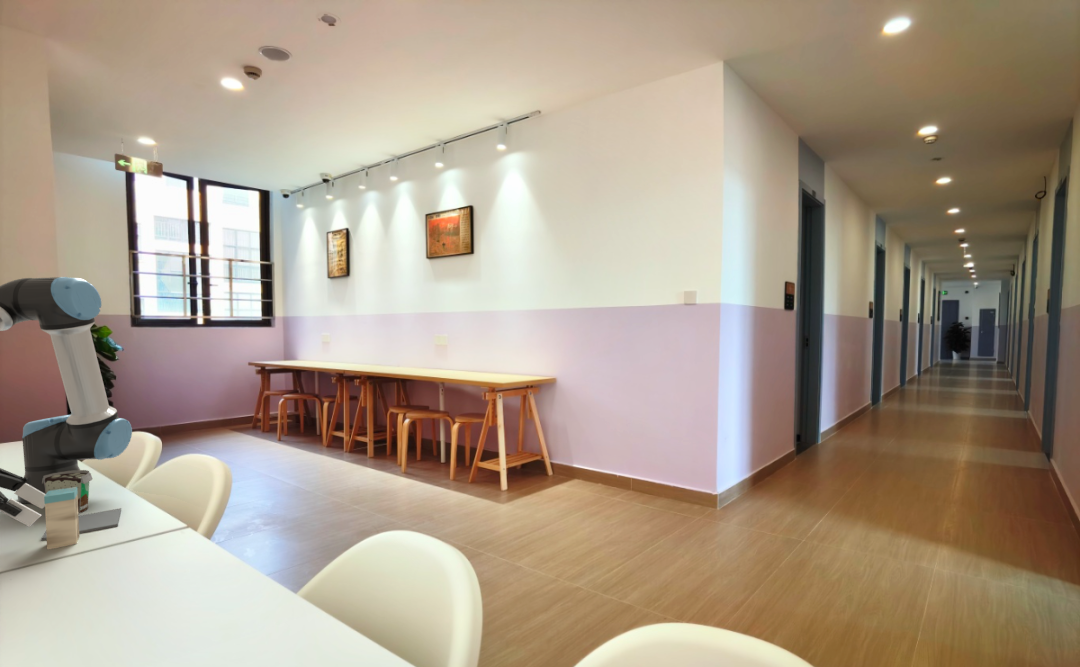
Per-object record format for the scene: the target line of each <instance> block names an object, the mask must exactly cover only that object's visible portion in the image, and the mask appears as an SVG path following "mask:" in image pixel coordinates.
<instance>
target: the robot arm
mask: <svg viewBox="0 0 1080 667" xmlns="http://www.w3.org/2000/svg"><path fill="white" fill-rule="evenodd" d="M101 308H102V298H101V295H100V293H99V291H98V290H97V288H96V287H95V286H94V285H93V284H92V283H90V282H89V281H87V280H85V279H84V278H79V277H68V276H59V277H58V276H57V277H56V276H54V277H25V278H23V277H22V278H18V279H15V280H11V281H8V282H6V283H4V284H1V285H0V332H2V331H3V332H4V331H8V330H9V329H11V328H12V327H13V326H14V325H17V324H20V323H23V322H30V321H38V324H39V327H40V328H39V329H40V330H41V331H43V332H44V333H46V334H48V335H49V336H50V339H51V343H52V348H53V350H54V354H55V358H56V362H57V366H58V369H59V373H60V377H61V380H62V383H63V387H64V388H63V389H64V391H65V395H66V398H67V403H68V407H69V410H70V412H71V413H70V414H64V415H59V416H52V417H49V418H48V417H47V418H42V419H38V420H33V421H29V422H27V423H25V424H24V426H23V428H22V437H21V438H22V448H23V449H22V450H23V463H24V475H23V476H20V475H18V474H16V473H13V472H10V471H8V470H6V469H4V468H1V467H0V488H1V489H4V490H5V489H6V490H8V491H12V492H14V493H13V494H14V495H15V496H17V500H15V499H14V498H12V497H11V498H10V499H9V498H8V497H7V496H6V495H5V494H4V493H3V492H2V491H0V512H1V513H2V514H5V515H6V516H8V517H11V518H12V519H14V520H16V521H18V522H19V523H21V524H24V525H25V526H28V528H30V527H31V526H32V525H33V524H34V523H35V522H36V521H38V520H39V518H40V517H41V516H42V514H41V513H39V512H37V511H36V510H34V509H32V508H30V507H28V506H26V505H24V504H32V505H34V506H35V507H38V508H39V509H44V508H45V502H44V496H45V495H46V492H45V485H44V483H43V484H42V479H43V476H45V475H49V474H53V473H58V472H65V471H73V470H81V469H80V466H79V463H78V461H79V460H98V461H99V460H100V461H101V460H104V459H115V458H116V457H119V456H120V455H121V454H122V453H124V452H125V450H126V449H127V448H128V447H129V444H130V442H131V439H132V435H133V428H132V424H131V423H130V421H129V420H127V419H126V418H122V417H119V414H118V410H117V409H116V408H115V407H113V406H111V405H109V401H108V397H107V393H106V389H105V385H104V381H103V376H102V373H101V369H100V364H99V360H98V358H97V357H98V356H97V352H96V347H95V344H94V341H93V336H92V332H91V328H92V326H93V325H95V323H96V320H95V318H96V317H97V316H98V315H99V314H100V312H101Z"/></svg>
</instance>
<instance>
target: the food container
mask: <svg viewBox="0 0 1080 667" xmlns="http://www.w3.org/2000/svg"><path fill="white" fill-rule="evenodd" d="M92 480H93V476H92V473H91V472H90V470H87V469H80V470H73V471H65V472H58V473H53V474H49V475H45V476H43V479H42V484H43V483H44V485H45V492H46V494H47V492H48V491H52V490H59V489H65V488H72V487H77V491H78V494H77V497H78V514H81V513H83V512H86V511H87V510H88V508H89V495H90V494H89V492H90V482H91V481H92Z"/></svg>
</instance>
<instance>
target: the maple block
mask: <svg viewBox="0 0 1080 667" xmlns="http://www.w3.org/2000/svg"><path fill="white" fill-rule="evenodd" d="M77 494H78V491H77V487H72V488H65V489H59V490H52V491H48V492H47V494H46V495H45V496H44V502H45V507H44V511H45V531H46V534H47V540H46V549H47V550H53V549H57V548H63V547H66V546H72V545H77V544H78V541H79V540H80V539H79V538H80V534H79V518H78V516H79V513H78V497H77Z"/></svg>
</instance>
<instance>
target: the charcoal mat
mask: <svg viewBox="0 0 1080 667" xmlns="http://www.w3.org/2000/svg"><path fill="white" fill-rule="evenodd" d="M121 513H122V508H121V507H120V508H115V509H108V510H104V511H98V512H93V513H92V512H91V513H85V514H81V515H78V518H79V535H81V534H85V533H91V532H95V531H99V530H105V529H110V528H115V527H119V522H120V519H121V518H120V517H121ZM40 539H41V541H42V542H43V541H47V534H46V530H45V531H44V533H43V535H42V537H41V538H40Z"/></svg>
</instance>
